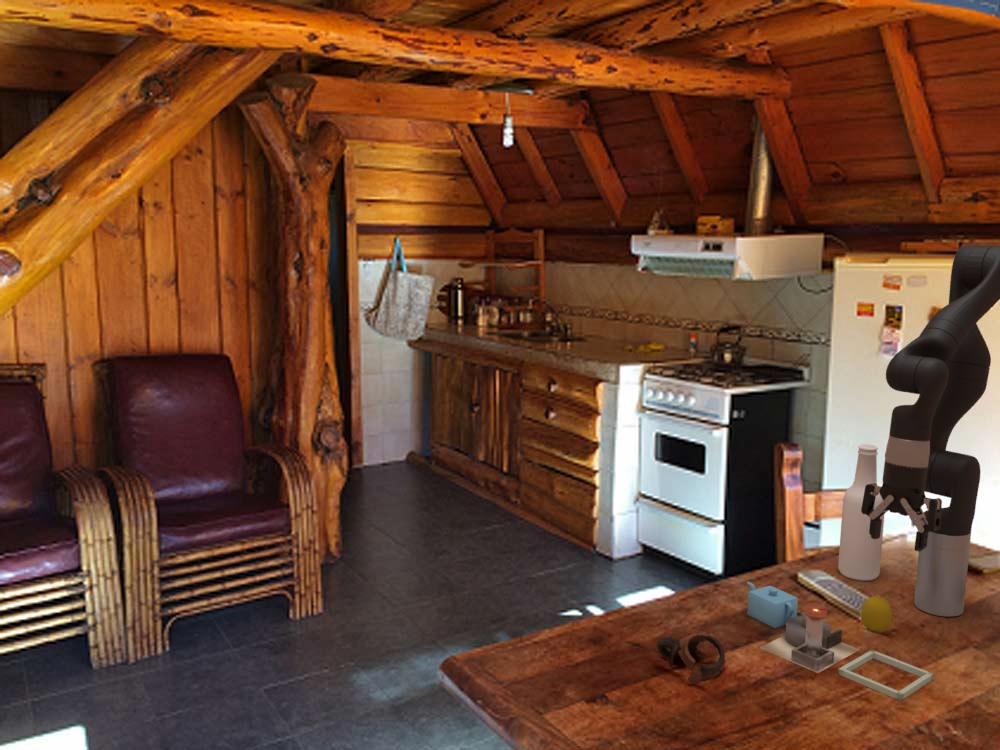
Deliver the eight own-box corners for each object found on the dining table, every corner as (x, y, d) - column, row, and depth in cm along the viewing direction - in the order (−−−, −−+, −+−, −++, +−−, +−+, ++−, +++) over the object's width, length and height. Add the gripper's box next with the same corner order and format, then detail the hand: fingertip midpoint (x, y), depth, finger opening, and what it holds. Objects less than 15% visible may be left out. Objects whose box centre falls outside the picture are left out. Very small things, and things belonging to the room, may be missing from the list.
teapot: (734, 615, 182) (736, 580, 181) (756, 609, 185) (758, 574, 184) (780, 639, 172) (782, 602, 171) (802, 631, 175) (804, 595, 174)
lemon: (893, 642, 171) (896, 602, 169) (862, 639, 172) (865, 600, 170) (886, 629, 176) (890, 591, 175) (857, 626, 177) (860, 588, 176)
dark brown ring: (718, 662, 164) (731, 636, 159) (712, 706, 157) (726, 680, 151) (654, 640, 165) (665, 613, 160) (646, 683, 158) (657, 657, 153)
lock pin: (808, 654, 163) (812, 601, 161) (827, 662, 160) (831, 608, 158) (796, 660, 160) (800, 606, 158) (815, 668, 157) (819, 614, 156)
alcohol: (878, 584, 198) (888, 452, 193) (836, 577, 202) (845, 448, 197) (880, 570, 206) (890, 444, 201) (839, 564, 210) (848, 439, 205)
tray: (870, 662, 163) (871, 649, 162) (932, 687, 154) (933, 673, 154) (837, 682, 156) (838, 668, 155) (900, 709, 147) (901, 694, 147)
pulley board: (800, 633, 174) (802, 602, 173) (859, 657, 165) (862, 623, 164) (757, 654, 165) (759, 621, 164) (817, 681, 156) (819, 646, 155)
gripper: (953, 467, 166) (943, 552, 168) (880, 452, 177) (871, 531, 179) (935, 471, 161) (924, 558, 163) (860, 455, 172) (851, 537, 174)
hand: (896, 544), depth 171 cm, fingers open, 8 cm apart
